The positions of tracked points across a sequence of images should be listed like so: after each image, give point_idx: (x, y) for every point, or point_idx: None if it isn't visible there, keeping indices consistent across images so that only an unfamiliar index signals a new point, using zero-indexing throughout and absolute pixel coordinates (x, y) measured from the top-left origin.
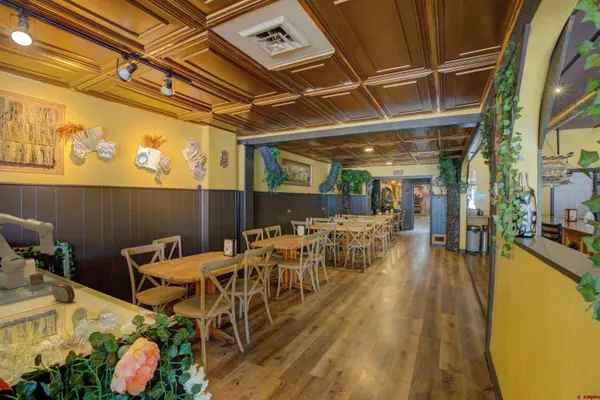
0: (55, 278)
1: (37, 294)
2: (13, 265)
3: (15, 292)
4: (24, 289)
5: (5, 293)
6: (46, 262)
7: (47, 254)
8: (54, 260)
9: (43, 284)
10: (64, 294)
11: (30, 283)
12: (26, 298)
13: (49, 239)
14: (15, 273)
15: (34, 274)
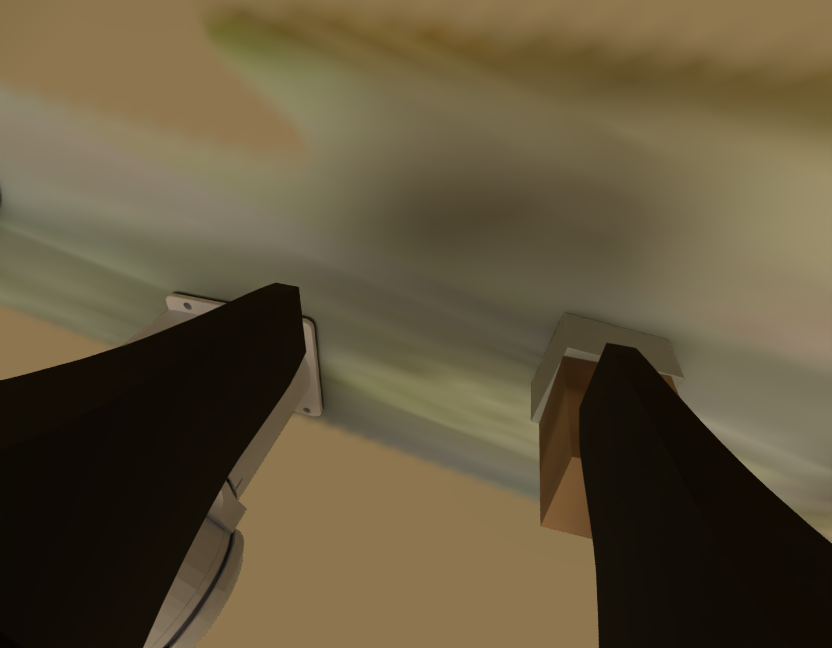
0: (279, 50)
1: (817, 457)
2: (210, 620)
3: (476, 441)
4: (455, 390)
5: (419, 458)
6: (267, 362)
7: (44, 554)
8: (748, 476)
9: (676, 377)
10: None
11: (540, 435)
12: (807, 517)
13: None
14: (243, 487)
15: (581, 508)
